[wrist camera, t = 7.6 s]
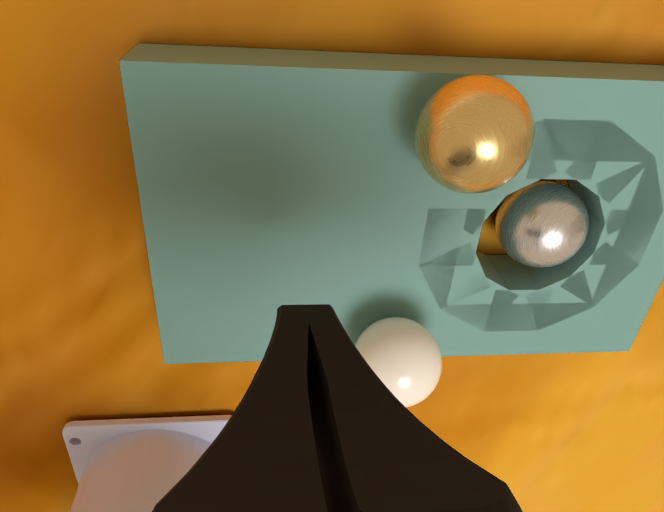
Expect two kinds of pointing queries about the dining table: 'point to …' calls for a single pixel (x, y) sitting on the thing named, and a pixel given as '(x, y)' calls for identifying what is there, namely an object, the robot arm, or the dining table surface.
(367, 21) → the dining table surface
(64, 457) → the dining table surface
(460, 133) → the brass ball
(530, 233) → the steel ball
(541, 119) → the bearing plate
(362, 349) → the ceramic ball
